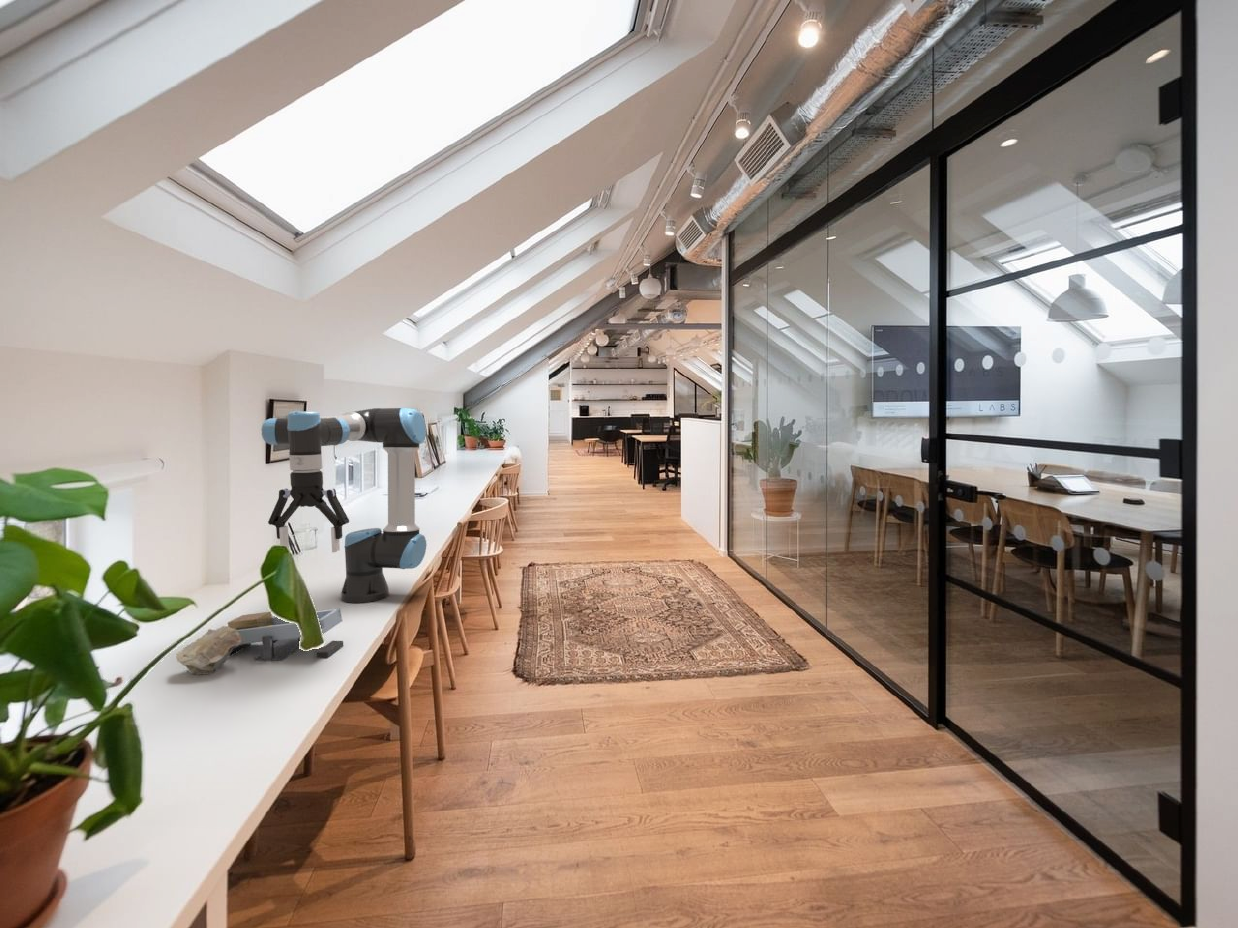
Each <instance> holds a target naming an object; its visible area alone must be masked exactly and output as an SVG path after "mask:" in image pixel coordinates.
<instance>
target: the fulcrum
mask: <svg viewBox="0 0 1238 928" xmlns="http://www.w3.org/2000/svg"><path fill="white" fill-rule="evenodd" d="M299 641H300V637H297V638H289V639H281V640H273V641H272V636H263V637H262V642H261V643H262V653H261V654H259V655H258V656H256V657H254V661H258V662H259V661H263V662H282V661H283V660H285V659H287V658H288V657H289V656H291V655H293V654H294V653H295V652H297V651H299ZM251 645H252V643H248V644H240V645H238V646H235V647H234V648H233V650H232V651H231V653H230V655H229V657H232V656H234V655H236V654H237V653H239V652H240V651H242V650H244V649H245V648H247V647H249V646H251ZM343 647H344V640H331V641H329V643H327V644H326V645H324V646H323V647H321V648H320V649H319V650H318V651H316V658H317V659H318V658H320V659H328V658H330V657H331V656H333V655H334V654H335V653H336V652H338V651H339V650H341V648H343Z"/></svg>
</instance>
